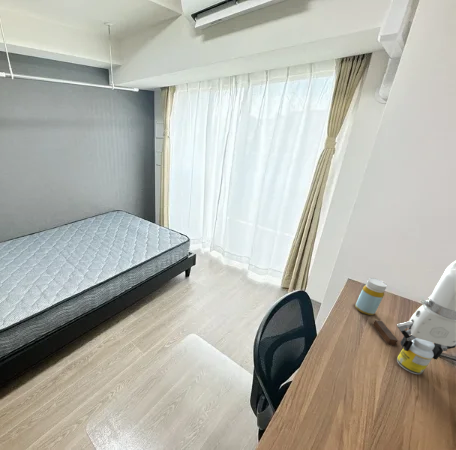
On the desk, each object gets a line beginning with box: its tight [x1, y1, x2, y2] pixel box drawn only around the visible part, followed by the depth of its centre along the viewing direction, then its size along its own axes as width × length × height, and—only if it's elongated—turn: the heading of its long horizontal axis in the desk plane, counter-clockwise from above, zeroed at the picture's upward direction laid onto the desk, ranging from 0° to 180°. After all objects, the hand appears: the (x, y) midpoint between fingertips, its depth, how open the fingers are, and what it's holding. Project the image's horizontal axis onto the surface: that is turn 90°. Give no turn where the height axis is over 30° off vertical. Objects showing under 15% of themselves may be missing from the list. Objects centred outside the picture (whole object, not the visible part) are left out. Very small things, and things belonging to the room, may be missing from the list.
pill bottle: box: [396, 338, 435, 375], centre depth 80 cm, size 6×6×12 cm
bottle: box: [354, 277, 388, 316], centre depth 105 cm, size 7×7×15 cm
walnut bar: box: [372, 319, 399, 346], centre depth 95 cm, size 10×2×2 cm, turn 166°
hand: (418, 351), depth 80 cm, fingers closed on pill bottle, 6 cm apart
